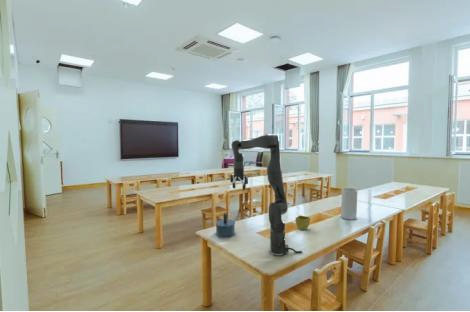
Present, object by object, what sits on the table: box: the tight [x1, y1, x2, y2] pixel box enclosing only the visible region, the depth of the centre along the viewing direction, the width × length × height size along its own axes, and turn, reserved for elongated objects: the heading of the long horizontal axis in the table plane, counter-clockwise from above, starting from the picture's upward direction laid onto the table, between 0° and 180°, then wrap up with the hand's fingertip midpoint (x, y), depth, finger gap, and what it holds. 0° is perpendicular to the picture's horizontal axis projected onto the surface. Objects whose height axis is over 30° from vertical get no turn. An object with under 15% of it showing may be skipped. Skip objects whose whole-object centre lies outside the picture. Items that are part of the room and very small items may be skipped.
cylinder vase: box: [340, 187, 358, 221], centre depth 221 cm, size 12×12×25 cm
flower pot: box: [295, 215, 311, 231], centre depth 197 cm, size 9×9×9 cm
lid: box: [215, 212, 236, 227], centre depth 187 cm, size 14×14×8 cm
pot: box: [215, 223, 236, 239], centre depth 187 cm, size 13×13×8 cm
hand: (239, 189), depth 186 cm, fingers open, 8 cm apart
